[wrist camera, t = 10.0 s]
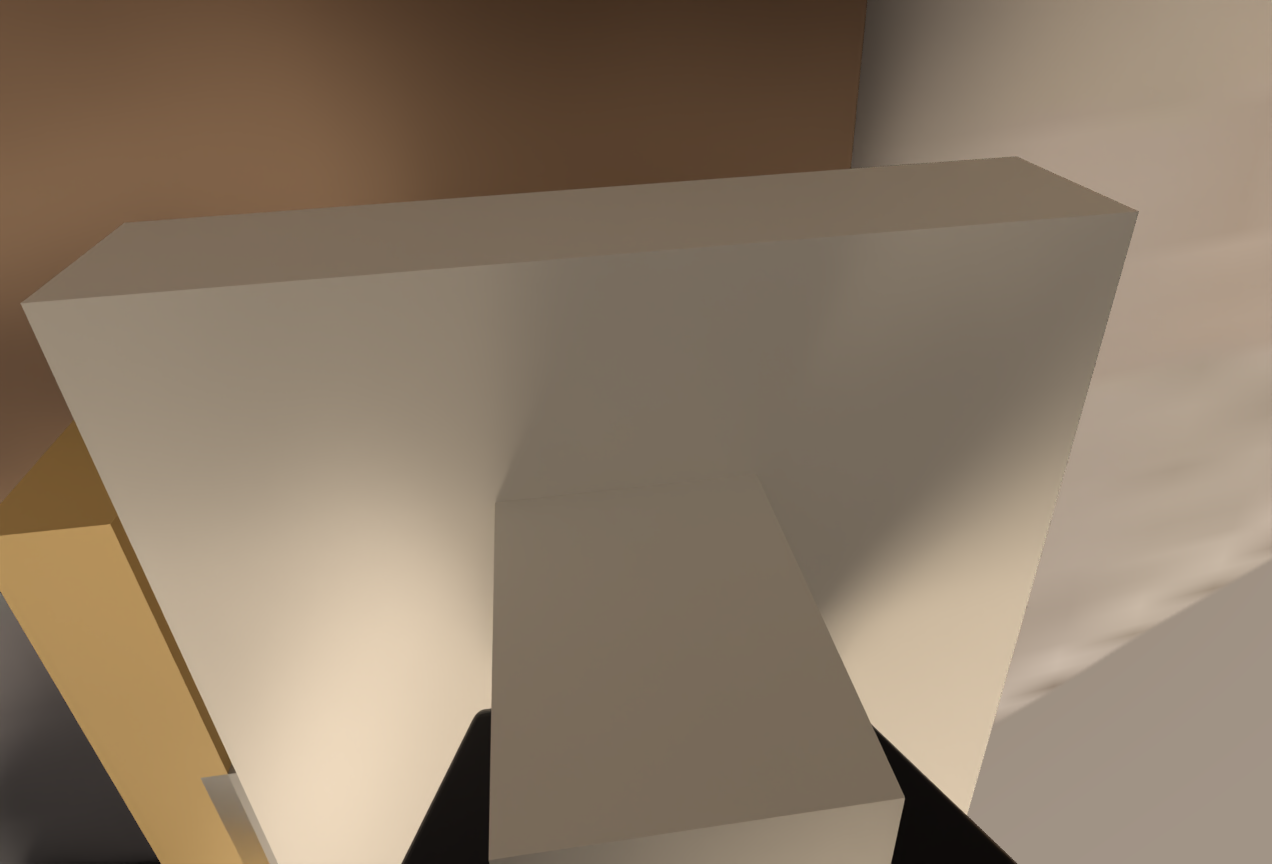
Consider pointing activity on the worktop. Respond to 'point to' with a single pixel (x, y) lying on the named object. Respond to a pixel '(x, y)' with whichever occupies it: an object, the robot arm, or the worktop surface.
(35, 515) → the tan rectangular block
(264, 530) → the cover
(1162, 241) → the worktop surface
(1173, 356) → the worktop surface
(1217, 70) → the worktop surface
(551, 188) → the base box
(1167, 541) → the worktop surface
